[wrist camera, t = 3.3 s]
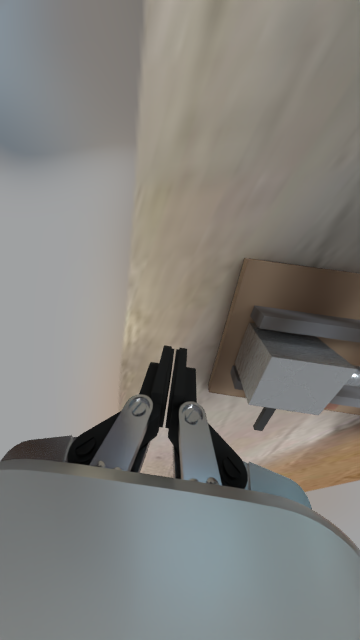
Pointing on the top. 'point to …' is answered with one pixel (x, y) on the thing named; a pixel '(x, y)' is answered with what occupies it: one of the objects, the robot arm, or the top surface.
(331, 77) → the top surface
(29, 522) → the robot arm
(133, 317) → the top surface
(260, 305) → the bench
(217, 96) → the top surface
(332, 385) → the grey block with rod
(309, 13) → the top surface
